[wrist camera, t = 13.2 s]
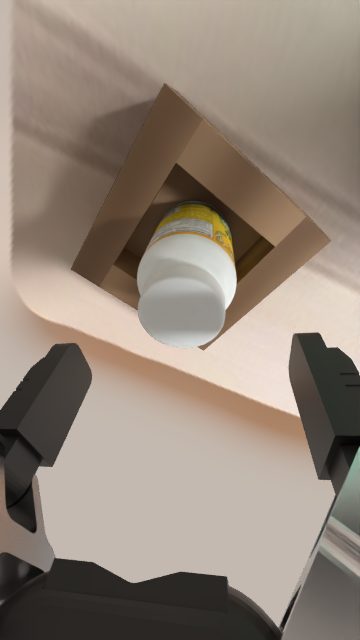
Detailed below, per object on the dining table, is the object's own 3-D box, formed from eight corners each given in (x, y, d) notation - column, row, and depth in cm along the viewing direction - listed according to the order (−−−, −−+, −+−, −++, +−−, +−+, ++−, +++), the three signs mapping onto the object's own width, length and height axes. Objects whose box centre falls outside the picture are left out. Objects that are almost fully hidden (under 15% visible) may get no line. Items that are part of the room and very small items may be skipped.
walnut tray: (303, 211, 20) (331, 240, 16) (205, 309, 27) (203, 350, 22) (178, 92, 17) (164, 83, 12) (99, 238, 23) (70, 269, 19)
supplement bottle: (157, 196, 18) (115, 254, 10) (237, 202, 18) (253, 266, 10) (158, 268, 21) (127, 352, 14) (225, 274, 21) (231, 363, 13)
